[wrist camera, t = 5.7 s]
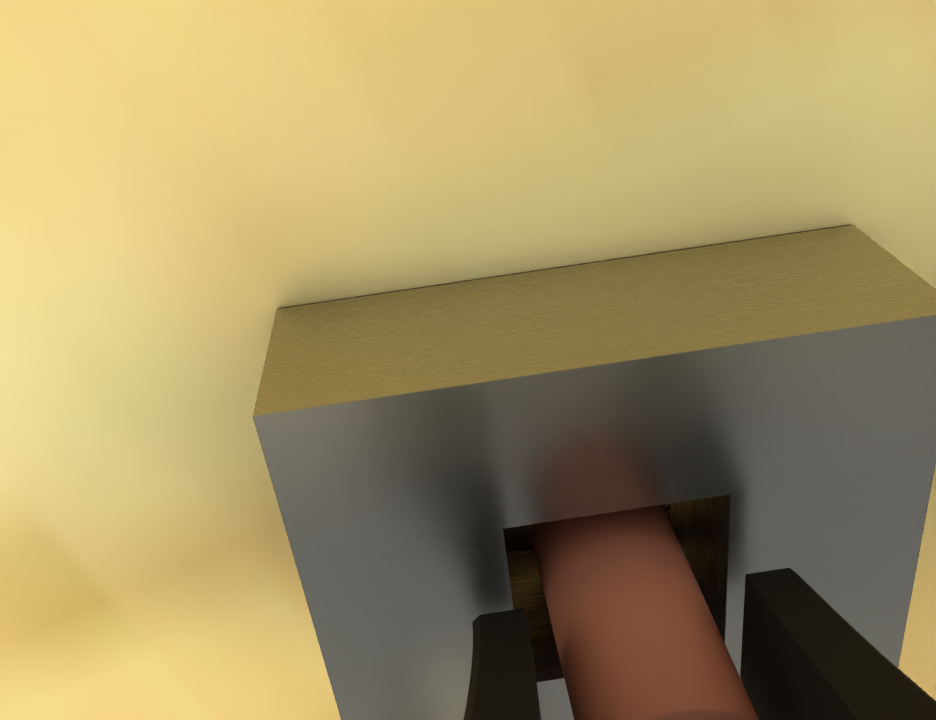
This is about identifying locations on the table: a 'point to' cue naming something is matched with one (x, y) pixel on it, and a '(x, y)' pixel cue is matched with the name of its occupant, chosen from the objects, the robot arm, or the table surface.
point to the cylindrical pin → (634, 621)
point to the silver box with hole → (599, 446)
